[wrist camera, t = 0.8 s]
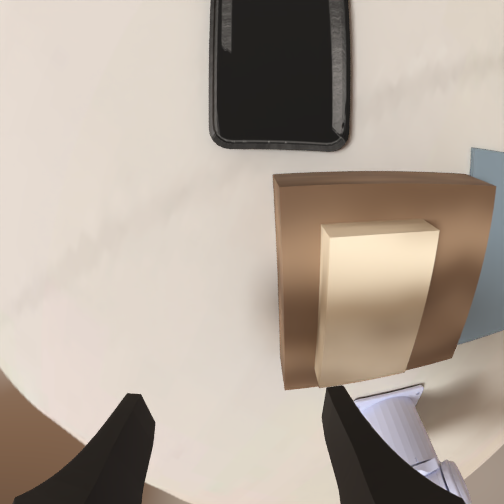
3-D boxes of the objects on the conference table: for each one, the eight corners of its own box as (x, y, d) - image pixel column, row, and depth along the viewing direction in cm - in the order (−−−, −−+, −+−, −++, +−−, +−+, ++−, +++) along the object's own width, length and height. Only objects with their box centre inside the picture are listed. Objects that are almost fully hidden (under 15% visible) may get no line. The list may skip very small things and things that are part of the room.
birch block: (395, 355, 19) (404, 372, 17) (314, 368, 19) (319, 387, 17) (422, 218, 15) (439, 230, 13) (320, 224, 15) (329, 237, 13)
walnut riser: (434, 332, 23) (451, 358, 20) (280, 357, 23) (284, 390, 20) (465, 174, 17) (496, 186, 14) (272, 174, 17) (279, 187, 14)
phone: (341, -61, 10) (348, 153, 16) (337, -54, 11) (342, 151, 17) (212, -70, 10) (207, 149, 16) (214, -61, 11) (209, 147, 17)
